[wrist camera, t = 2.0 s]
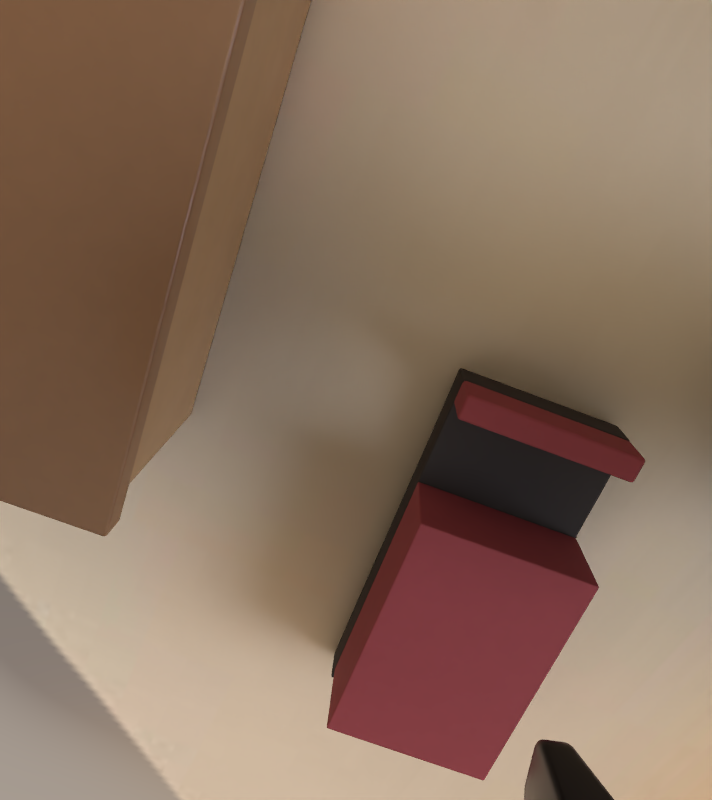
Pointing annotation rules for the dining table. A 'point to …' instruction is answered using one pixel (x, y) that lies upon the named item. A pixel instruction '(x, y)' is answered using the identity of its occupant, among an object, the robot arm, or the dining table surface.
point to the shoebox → (121, 226)
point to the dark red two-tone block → (476, 577)
